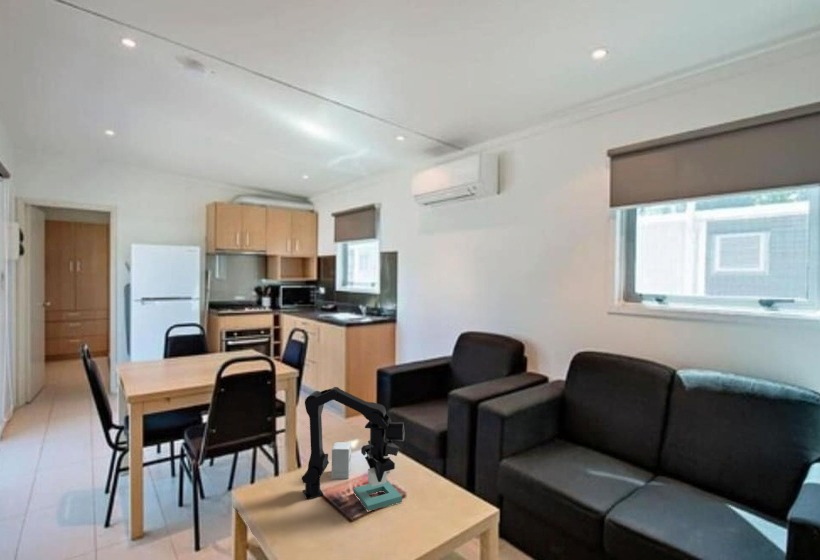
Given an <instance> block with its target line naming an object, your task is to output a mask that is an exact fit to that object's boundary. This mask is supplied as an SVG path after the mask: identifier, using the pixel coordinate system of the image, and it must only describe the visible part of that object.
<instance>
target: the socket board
mask: <svg viewBox="0 0 820 560" xmlns="http://www.w3.org/2000/svg"><path fill="white" fill-rule="evenodd" d="M379 491H384V492H385V493H386V494H384V493H382V494H381V495H380V494H379V495H377V496H374V497H371V496H369V494H372V493H376V492H379ZM354 493H355V494H356V496H357V497H358V498H359V499H360V501H361V502H362V504H363V505H364V506H365V508H366V509H367V510H368V511H369V510H373V509H376V508H381V507H385V506H389V505H392V504H395V505H397V504H396V503H399V504H401V503H400V502H402V503H403V495H402V494H401V493H400V492H399V491H398V490H397V489H396V488H395V487H394V486H393V484H391V483H390V482H389V480H387V483H384V484H380V485H376V486H373V487H372V486H371V485H370V484H369V483H367V484H363V485H359V486H357V487H356V486H355V487H354V488H353V494H354ZM362 504H361V505H362ZM392 506H393V505H392ZM389 507H390V506H389ZM365 508H364V509H365ZM385 508H386V507H385Z"/></svg>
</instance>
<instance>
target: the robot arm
mask: <svg viewBox="0 0 820 560" xmlns="http://www.w3.org/2000/svg"><path fill="white" fill-rule="evenodd" d="M331 401H335V402H337V403H340V404H342V405H343V406H345V407H348V408H350V409H351V410H354V411H356V412H358V413H360V414H361V415H362V416H363V417H364V418H365V419H366V420H367V421H368V422H366V424H365V426H364V429H369V440H368V441H367V444H365V445H364V444H363V445H362V447H361V450H360V453H361V455H363V456H365V457H364V459H365V461H366V462H367V465H368V467H369V469H370V468H374V471H375V474H376V477H377V480H378V482H381V480H382V477H383V474H384V472H385V471H389V470H390V471H393V470H395V469H396V463H395V462H394V461H393V460H392V459H391V457H390V458H386V459H385V458H384V456H385V457H389V455H390V456H391V455H392V456H394V457H397V456H398V453H399V450H400V447H399V446H398V445H396V444H395V443H393V441H394V442H395V441H396V442H397V441H398V442H404V441H405V434H406V432H405V431H406V428H405V425H404V424H405V423H404V421H392V419H391V417H390V416H389V415H388V413H387V409H386V407H385V406H384V405H382V404H380V403H376V402H371V401H366V400H363V399H361V398H359V397H357V396H355V395H353V394H351V393H349V392H348V391H347V392H346V391H345V390H343V389H341V388H339V386H334V387H332V388H328V389H324V390H320V391H319V390H315V391H313V392H311V393H310V394H309V395H308V396H307V397H306V398H305V400H304V408H305V411H306V412H305V413H306V414H307V415H308V418H309V434H310V437H309V438H310V455H309V456H310V457H309V460H308V463H307V464H308V466H307V470H306V471H305V472H304V474H303V475H302V476H301V480H302V483H303V484H305V485H304V486H305V487H304V489H303V490H302V493H303V495H304V497H305V499H306V500H309V499H313V498H317V497H321V496H323V495H324V493H323V491H322V490H321V476H322V475H323V473H324V472H325V470H326V469H327V467H328V465H329V464H330V462H329V453H325V451H324V449H323V428H322V427H323V425H322V424H323V423H322V414H323V410H324V406H325V404H326V403H328V402H331ZM322 494H323V495H322Z"/></svg>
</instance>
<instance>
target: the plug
mask: <svg viewBox="0 0 820 560" xmlns="http://www.w3.org/2000/svg"><path fill="white" fill-rule="evenodd" d="M387 476H388V473H387V471H385V472H384V474H383V477H382V480H381V482H378V480H377V477H376V474H375V471H374V468H370V467H369V468H368V469H367V482H368V484H370V485H371V486H372V487H373V486H376V485H380V484H384V483H387V481H388V479H387V478H388V477H387Z"/></svg>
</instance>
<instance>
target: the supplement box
mask: <svg viewBox="0 0 820 560" xmlns="http://www.w3.org/2000/svg"><path fill="white" fill-rule="evenodd" d="M351 471H352V442H343V441H342V442H339V441H338V442H334V443H333V446H332V449H331V479H335V480H337V479H341V480H349V478H350V474H351Z"/></svg>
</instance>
